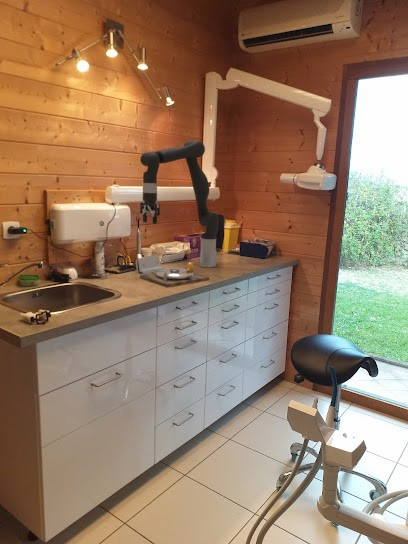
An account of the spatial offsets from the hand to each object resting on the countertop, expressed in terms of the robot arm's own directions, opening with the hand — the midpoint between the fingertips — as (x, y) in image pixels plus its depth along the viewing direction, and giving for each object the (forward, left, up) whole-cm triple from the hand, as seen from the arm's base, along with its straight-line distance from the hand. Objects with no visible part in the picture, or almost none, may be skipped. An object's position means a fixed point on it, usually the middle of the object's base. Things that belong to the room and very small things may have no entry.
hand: (149, 222), depth 225 cm
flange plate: (-6, +16, -26) cm, 31 cm away
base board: (-6, +14, -29) cm, 33 cm away
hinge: (-6, -9, -29) cm, 31 cm away
